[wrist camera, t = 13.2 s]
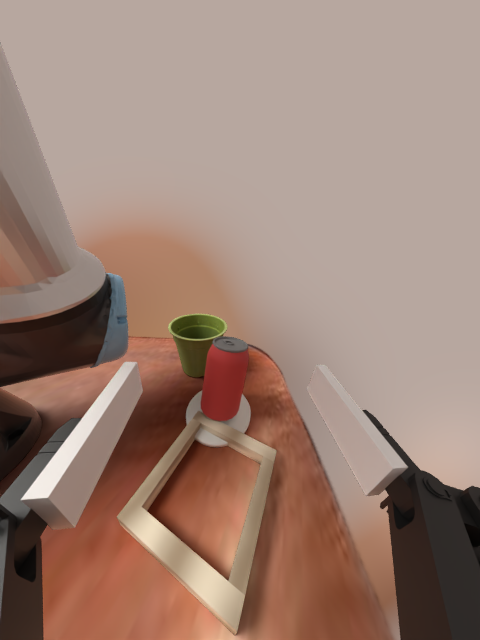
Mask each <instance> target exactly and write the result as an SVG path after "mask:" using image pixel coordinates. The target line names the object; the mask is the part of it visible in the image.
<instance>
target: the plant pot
mask: <svg viewBox="0 0 480 640" xmlns="http://www.w3.org/2000/svg"><path fill="white" fill-rule="evenodd" d="M168 329H169V332H170V333H171V334H172V335H173V338H174V341H175V342H176V345H177V349H178V352H179V356H180V360H181V364H182V367H183V370H184V372H185V373H186V374H187V375H189V376H191V377H201V376H204V375H205V368H206V361H207V354H208V351H209V349H210V347H211V345H212V344H213V340H214V339H215V338H217V337H223V334H224V333H225V332H226V330H227V324H226V323H225V321H224V320H222V319H221V318H218V317H216V316H212V315H207V314H190V315H184V316H181V317H178V318H176V319H174V320H173V321H172V322H170V324H169V326H168Z"/></svg>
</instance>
